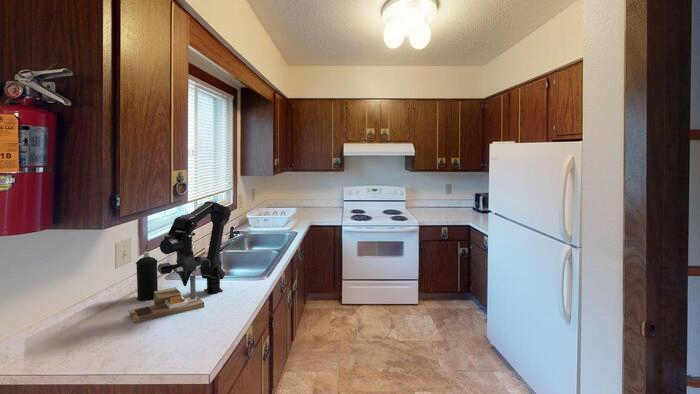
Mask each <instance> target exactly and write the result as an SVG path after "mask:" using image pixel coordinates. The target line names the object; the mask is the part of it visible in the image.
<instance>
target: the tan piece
mask: <svg viewBox="0 0 700 394" xmlns="http://www.w3.org/2000/svg"><path fill="white" fill-rule="evenodd" d="M181 294H182V293H181V291H180V290H179V289H178V288H177V287H175V286H173V287H170V288H165V289H158V291H154V299H153V304H151V305H146V306H141V307H137V308H132V309H129V313H128V314H129V317H130V319H131V320H132V322H133V324H135V325H136V324H140V323H144V322H148V321H152V320H156V319H161V318H165V317H169V316H173V315H177V314H182V313H185V312H190V311H193V310H198V309H202V308H205V302H204V301H203V299H202V298H200V297H199V296H198V295H197V294H196V299H197V301H194V302H189V303H188V305H185V306H181V307H176V308H172V309H169V307H168V306H167V305H166V304H165V300H168V297H171V296H176V295H181ZM183 298H184V299H189V298H190V296H187V297H183ZM181 302H182V301H181Z"/></svg>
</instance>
